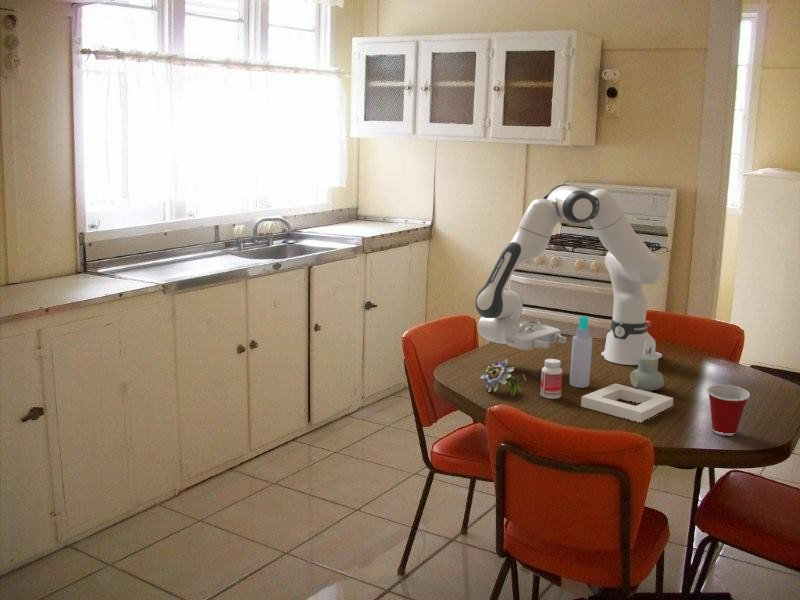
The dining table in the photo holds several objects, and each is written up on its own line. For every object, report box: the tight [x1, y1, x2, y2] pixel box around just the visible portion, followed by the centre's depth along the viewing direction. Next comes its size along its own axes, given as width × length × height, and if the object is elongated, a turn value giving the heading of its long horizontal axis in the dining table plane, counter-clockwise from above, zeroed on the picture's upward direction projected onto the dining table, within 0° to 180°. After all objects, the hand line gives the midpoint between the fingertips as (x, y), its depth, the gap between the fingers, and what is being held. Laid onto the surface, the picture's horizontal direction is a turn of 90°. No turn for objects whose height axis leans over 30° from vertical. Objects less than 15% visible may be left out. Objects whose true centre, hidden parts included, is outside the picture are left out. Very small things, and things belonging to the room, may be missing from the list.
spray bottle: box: [569, 315, 593, 389], centre depth 271 cm, size 6×6×22 cm
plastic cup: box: [706, 383, 751, 433], centre depth 233 cm, size 11×11×12 cm
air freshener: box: [629, 355, 665, 392], centre depth 271 cm, size 11×8×10 cm
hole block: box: [580, 383, 674, 424], centre depth 253 cm, size 19×19×3 cm
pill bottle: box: [540, 358, 563, 400], centre depth 261 cm, size 6×6×11 cm
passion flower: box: [479, 358, 527, 397], centre depth 265 cm, size 11×11×12 cm
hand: (556, 342), depth 277 cm, fingers open, 8 cm apart
